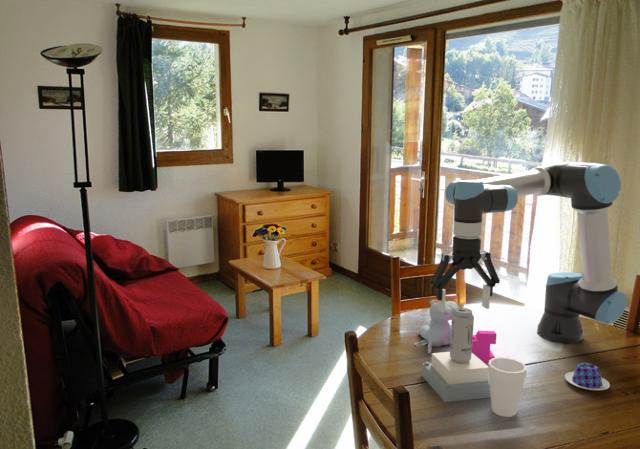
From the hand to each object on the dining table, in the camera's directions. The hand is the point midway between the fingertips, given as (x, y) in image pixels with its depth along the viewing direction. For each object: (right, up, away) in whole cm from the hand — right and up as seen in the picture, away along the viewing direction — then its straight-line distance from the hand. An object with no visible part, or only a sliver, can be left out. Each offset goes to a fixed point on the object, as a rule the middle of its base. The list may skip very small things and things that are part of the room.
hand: (463, 309), depth 148 cm
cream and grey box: (-1, -23, +4) cm, 23 cm away
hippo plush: (0, -18, +36) cm, 40 cm away
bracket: (+10, -20, +25) cm, 33 cm away
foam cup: (+8, -26, -9) cm, 29 cm away
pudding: (+39, -23, +7) cm, 46 cm away
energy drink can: (0, -15, +3) cm, 16 cm away
